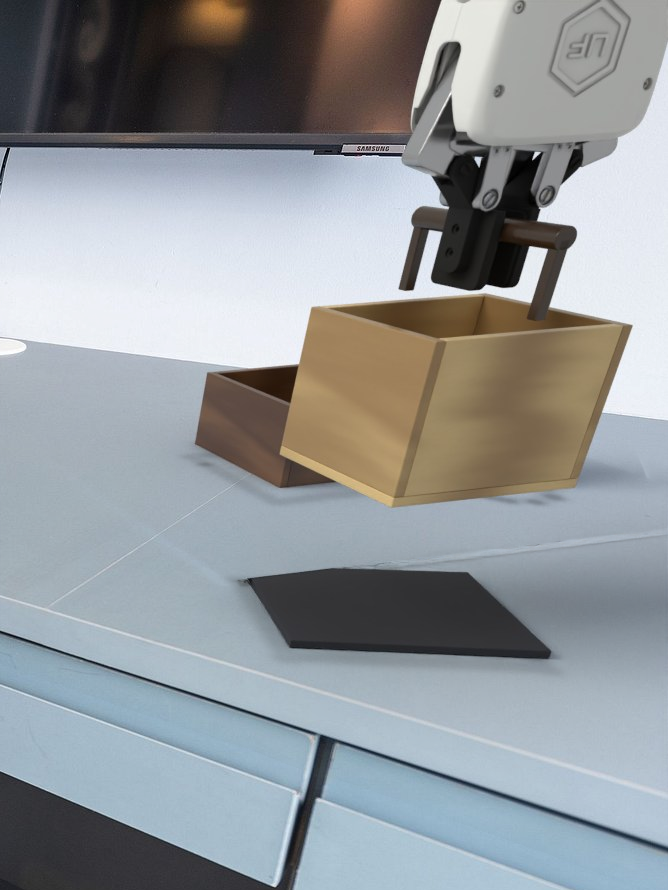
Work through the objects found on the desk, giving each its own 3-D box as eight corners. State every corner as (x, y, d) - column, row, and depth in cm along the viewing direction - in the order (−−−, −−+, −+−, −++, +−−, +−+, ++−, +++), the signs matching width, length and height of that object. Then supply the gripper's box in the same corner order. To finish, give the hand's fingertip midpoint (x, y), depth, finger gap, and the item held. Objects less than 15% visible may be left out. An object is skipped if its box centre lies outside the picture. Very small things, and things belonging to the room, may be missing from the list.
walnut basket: (333, 435, 99) (351, 359, 95) (432, 477, 88) (456, 393, 85) (193, 449, 97) (206, 372, 93) (278, 494, 86) (296, 409, 83)
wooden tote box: (443, 438, 68) (512, 200, 62) (575, 488, 60) (671, 218, 53) (278, 454, 67) (331, 211, 60) (391, 508, 58) (466, 232, 52)
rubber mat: (465, 578, 71) (467, 571, 71) (549, 658, 62) (552, 651, 62) (241, 571, 74) (243, 564, 73) (289, 647, 64) (290, 640, 64)
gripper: (506, -136, 46) (395, 308, 54) (812, -140, 48) (659, 287, 56) (380, -108, 52) (298, 283, 61) (653, -114, 54) (537, 265, 63)
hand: (472, 283), depth 58 cm, fingers closed on wooden tote box, 1 cm apart
